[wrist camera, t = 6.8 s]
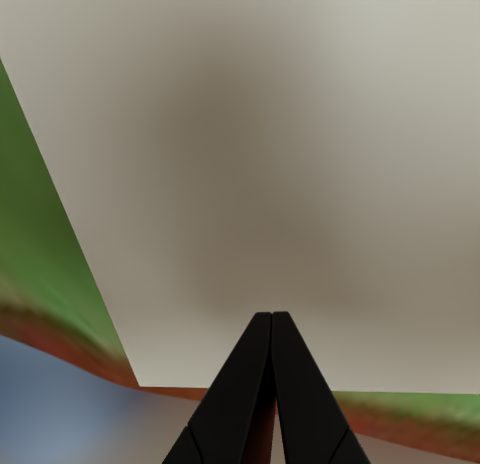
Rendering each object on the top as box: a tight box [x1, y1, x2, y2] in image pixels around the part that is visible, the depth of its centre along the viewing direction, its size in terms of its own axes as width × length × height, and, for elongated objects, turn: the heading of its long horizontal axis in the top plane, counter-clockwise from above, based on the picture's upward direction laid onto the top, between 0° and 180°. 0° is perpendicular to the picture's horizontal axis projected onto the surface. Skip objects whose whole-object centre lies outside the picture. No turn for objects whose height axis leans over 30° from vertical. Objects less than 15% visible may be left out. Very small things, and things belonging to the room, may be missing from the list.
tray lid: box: [0, 0, 480, 394], centre depth 10 cm, size 22×14×1 cm, turn 97°
